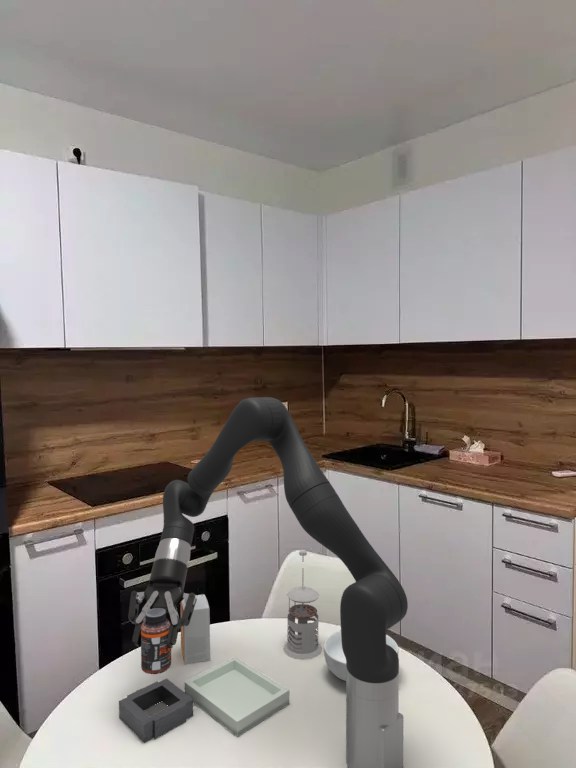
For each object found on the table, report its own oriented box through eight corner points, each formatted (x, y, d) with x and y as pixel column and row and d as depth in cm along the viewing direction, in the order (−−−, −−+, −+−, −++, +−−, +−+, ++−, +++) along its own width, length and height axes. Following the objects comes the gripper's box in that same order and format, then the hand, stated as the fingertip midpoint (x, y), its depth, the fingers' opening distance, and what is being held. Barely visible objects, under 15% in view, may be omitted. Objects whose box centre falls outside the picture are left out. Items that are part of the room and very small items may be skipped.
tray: (289, 704, 111) (289, 690, 111) (237, 737, 101) (237, 721, 101) (235, 669, 124) (235, 656, 124) (184, 695, 114) (184, 681, 114)
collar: (194, 717, 107) (194, 700, 107) (145, 744, 99) (145, 726, 99) (165, 693, 115) (165, 677, 114) (117, 716, 107) (117, 699, 107)
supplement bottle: (163, 677, 103) (162, 620, 103) (135, 674, 104) (134, 617, 104) (176, 660, 109) (175, 606, 108) (149, 657, 110) (148, 604, 110)
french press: (292, 663, 126) (293, 559, 125) (274, 639, 137) (274, 544, 136) (329, 654, 130) (329, 553, 129) (308, 632, 141) (308, 539, 140)
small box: (180, 647, 133) (179, 596, 133) (205, 643, 135) (205, 593, 134) (183, 665, 125) (183, 611, 125) (210, 660, 127) (210, 607, 127)
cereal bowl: (374, 649, 132) (374, 621, 132) (413, 687, 117) (413, 655, 116) (312, 663, 126) (312, 634, 126) (344, 705, 110) (344, 672, 110)
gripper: (134, 556, 114) (111, 638, 103) (199, 557, 113) (184, 641, 101) (143, 570, 119) (123, 650, 108) (206, 572, 118) (192, 653, 107)
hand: (153, 645), depth 105 cm, fingers closed on supplement bottle, 6 cm apart
